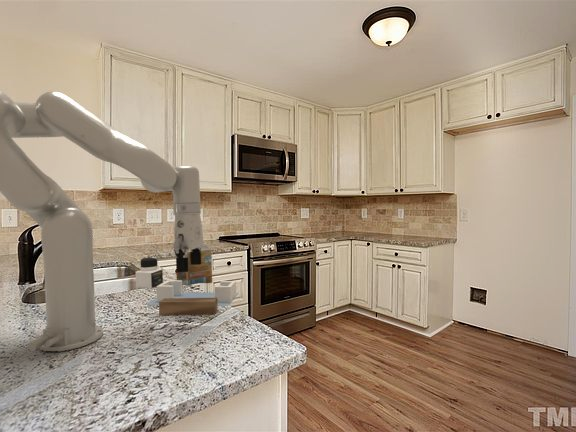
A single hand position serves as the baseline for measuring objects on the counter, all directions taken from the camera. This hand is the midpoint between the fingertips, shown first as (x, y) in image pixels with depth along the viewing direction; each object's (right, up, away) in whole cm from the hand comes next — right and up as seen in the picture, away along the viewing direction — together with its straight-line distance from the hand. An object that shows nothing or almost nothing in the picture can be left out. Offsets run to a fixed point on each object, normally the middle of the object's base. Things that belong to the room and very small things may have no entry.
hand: (189, 267), depth 88 cm
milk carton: (-11, -13, +38) cm, 42 cm away
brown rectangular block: (0, -14, 0) cm, 14 cm away
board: (-3, -14, +13) cm, 19 cm away
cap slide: (-11, -13, +14) cm, 22 cm away
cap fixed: (+8, -13, +13) cm, 19 cm away
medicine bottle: (-26, -14, +31) cm, 43 cm away
